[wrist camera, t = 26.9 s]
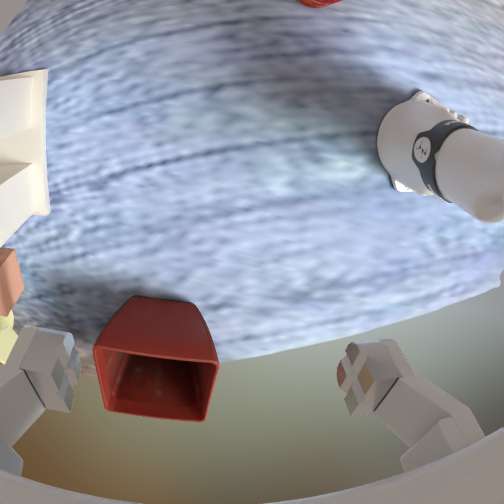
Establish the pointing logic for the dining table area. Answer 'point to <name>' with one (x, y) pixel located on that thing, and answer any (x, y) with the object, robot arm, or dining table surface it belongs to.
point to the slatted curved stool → (6, 336)
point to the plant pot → (157, 360)
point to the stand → (22, 150)
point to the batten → (9, 280)
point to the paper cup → (318, 3)
